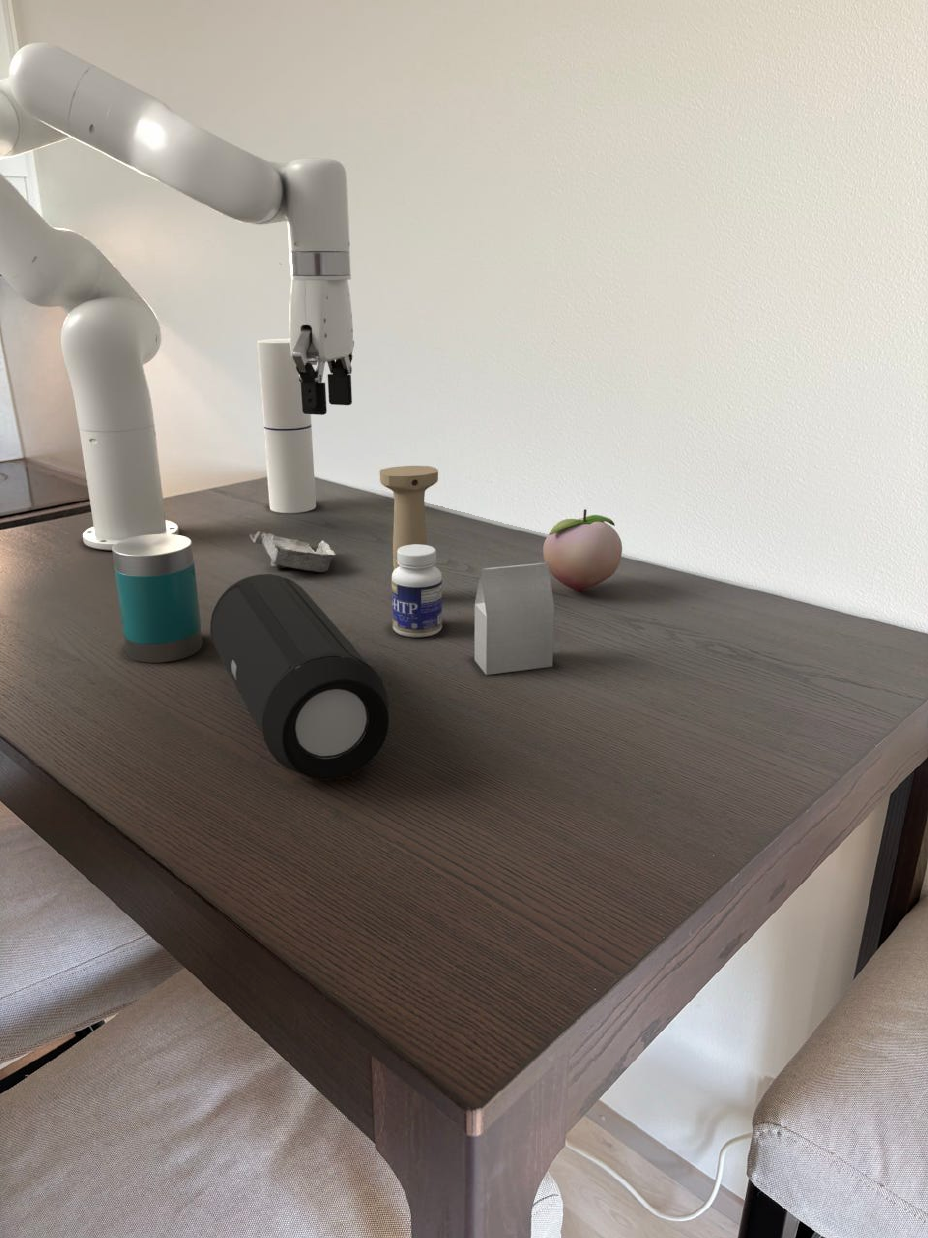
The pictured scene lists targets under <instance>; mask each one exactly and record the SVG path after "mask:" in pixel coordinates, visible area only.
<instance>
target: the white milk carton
mask: <svg viewBox="0 0 928 1238" xmlns="http://www.w3.org/2000/svg"><path fill="white" fill-rule="evenodd" d="M478 578H479V579H478V585H477V590H476V596H475V601H474V662H475V663H476V664H477V666H479V669H480V670H481V671H482V672H483V674H485V676H490V675H497V674H503V673H504V674H505V673H506V674H507V673H512V672H520V671H521V672H523V671H528V670H536V669H545V668H553V656H554V655H553V654H554V633H555V632H554V628H555V605H554V603H555V602H554V597H553V590H552V582H551V581H552V580H551V572H550V570H549V563H548V562H545V561H544V562H536V563H525V564H515V565H504V566H494V567H484V568H479V577H478Z"/></svg>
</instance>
